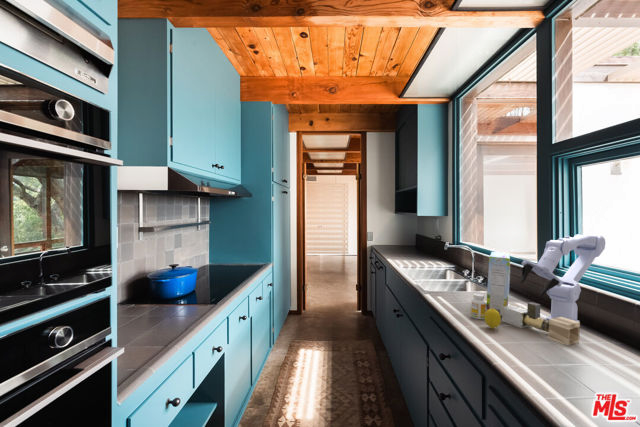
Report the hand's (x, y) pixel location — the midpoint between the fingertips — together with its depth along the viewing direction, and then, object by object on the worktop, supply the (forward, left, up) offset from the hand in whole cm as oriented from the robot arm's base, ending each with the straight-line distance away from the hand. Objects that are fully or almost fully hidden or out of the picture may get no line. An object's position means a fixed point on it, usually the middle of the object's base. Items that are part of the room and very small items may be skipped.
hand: (532, 288), depth 120 cm
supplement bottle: (+8, -17, -16) cm, 25 cm away
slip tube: (0, -1, -15) cm, 15 cm away
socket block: (0, +11, -16) cm, 20 cm away
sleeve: (0, -6, -16) cm, 17 cm away
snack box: (-10, -21, -16) cm, 28 cm away
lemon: (+14, -6, -16) cm, 22 cm away
